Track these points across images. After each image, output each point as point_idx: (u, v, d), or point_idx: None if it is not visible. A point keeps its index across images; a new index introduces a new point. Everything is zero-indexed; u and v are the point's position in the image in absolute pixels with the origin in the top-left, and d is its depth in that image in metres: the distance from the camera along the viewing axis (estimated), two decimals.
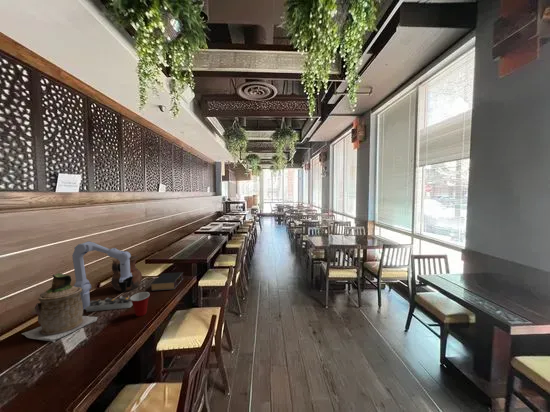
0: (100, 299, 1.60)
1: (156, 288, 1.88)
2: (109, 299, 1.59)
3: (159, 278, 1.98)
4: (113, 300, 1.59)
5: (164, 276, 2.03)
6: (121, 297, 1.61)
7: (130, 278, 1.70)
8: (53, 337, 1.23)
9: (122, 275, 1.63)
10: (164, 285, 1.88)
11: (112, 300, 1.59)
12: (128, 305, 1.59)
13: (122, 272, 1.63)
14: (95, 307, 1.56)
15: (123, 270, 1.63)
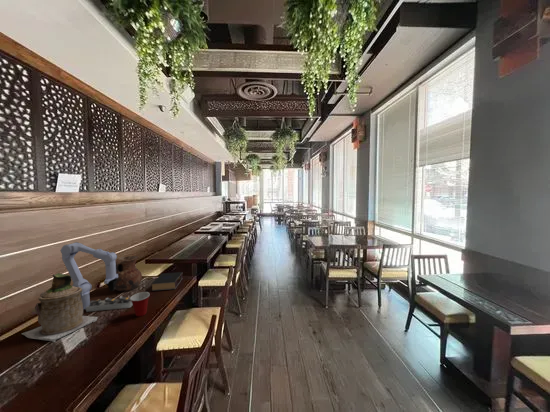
0: (100, 299, 1.60)
1: (157, 288, 1.87)
2: (109, 299, 1.59)
3: (159, 278, 1.98)
4: (113, 300, 1.59)
5: (164, 276, 2.03)
6: (121, 297, 1.61)
7: None
8: (53, 337, 1.24)
9: (107, 276, 1.60)
10: (165, 285, 1.88)
11: (112, 300, 1.59)
12: (128, 305, 1.59)
13: (107, 273, 1.60)
14: (95, 307, 1.56)
15: (108, 271, 1.59)
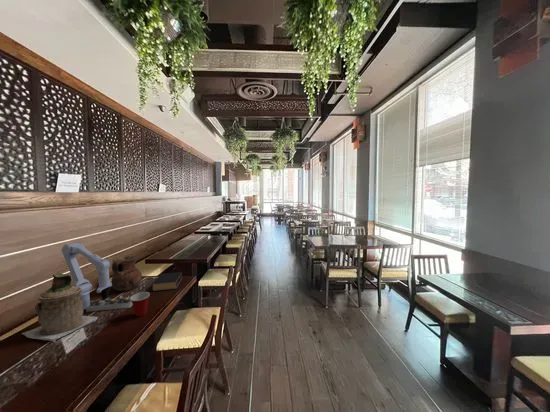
0: (100, 299, 1.60)
1: (157, 288, 1.87)
2: (109, 299, 1.59)
3: (159, 278, 1.97)
4: (113, 300, 1.59)
5: (163, 276, 2.02)
6: (121, 297, 1.61)
7: None
8: (53, 337, 1.24)
9: (100, 285, 1.56)
10: (166, 285, 1.88)
11: (112, 300, 1.59)
12: (128, 305, 1.59)
13: (100, 282, 1.56)
14: (95, 307, 1.56)
15: (100, 280, 1.56)
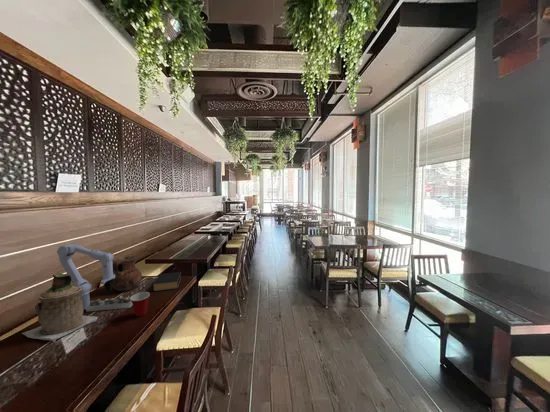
0: (100, 299, 1.60)
1: (159, 288, 1.87)
2: (108, 299, 1.59)
3: (159, 278, 1.97)
4: (112, 299, 1.59)
5: (163, 276, 2.02)
6: (121, 297, 1.61)
7: None
8: (53, 337, 1.24)
9: (104, 277, 1.60)
10: (167, 285, 1.89)
11: (111, 299, 1.59)
12: (128, 305, 1.59)
13: (104, 274, 1.60)
14: (95, 307, 1.56)
15: (105, 272, 1.60)
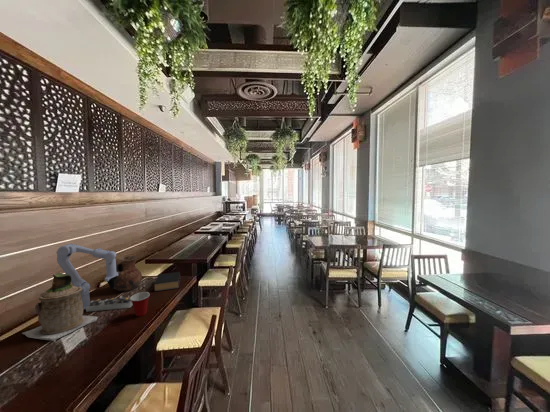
0: (100, 299, 1.60)
1: (159, 288, 1.87)
2: (108, 299, 1.59)
3: (159, 279, 1.97)
4: (112, 299, 1.59)
5: (163, 276, 2.02)
6: (121, 297, 1.61)
7: None
8: (53, 336, 1.24)
9: (108, 274, 1.64)
10: (168, 284, 1.89)
11: (111, 299, 1.59)
12: (128, 305, 1.59)
13: (108, 271, 1.64)
14: (95, 307, 1.56)
15: (110, 269, 1.64)
